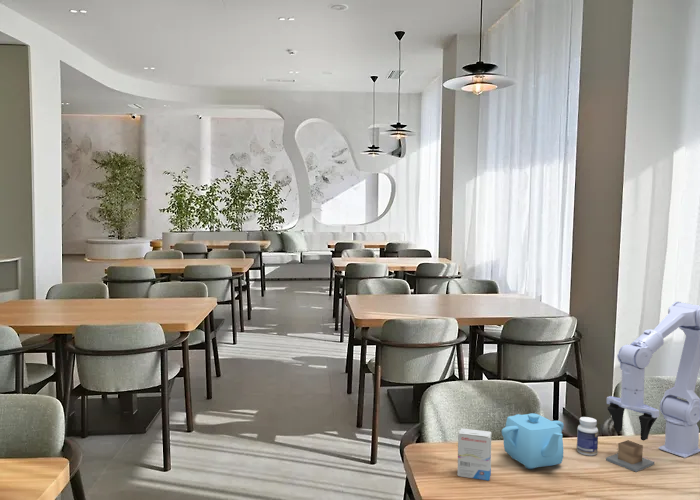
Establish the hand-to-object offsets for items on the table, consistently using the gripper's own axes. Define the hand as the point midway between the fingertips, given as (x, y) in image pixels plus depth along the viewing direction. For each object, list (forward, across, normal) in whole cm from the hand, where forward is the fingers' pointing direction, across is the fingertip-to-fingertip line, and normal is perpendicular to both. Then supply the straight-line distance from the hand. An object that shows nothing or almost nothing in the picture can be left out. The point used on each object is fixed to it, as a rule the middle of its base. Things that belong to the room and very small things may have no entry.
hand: (631, 435), depth 167 cm
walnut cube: (+7, 0, 0) cm, 7 cm away
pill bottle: (+8, -11, -4) cm, 14 cm away
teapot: (+8, -14, -23) cm, 28 cm away
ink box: (+8, -18, -43) cm, 47 cm away
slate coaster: (+8, 0, 0) cm, 8 cm away
